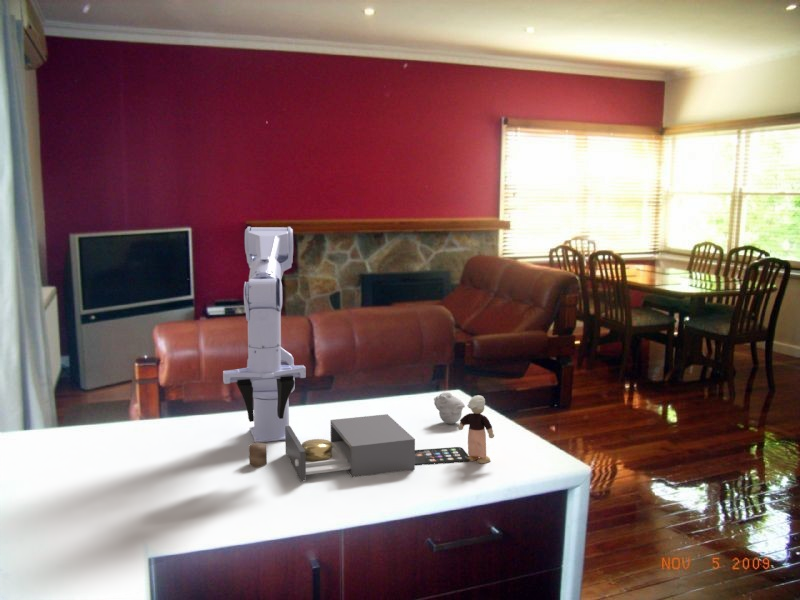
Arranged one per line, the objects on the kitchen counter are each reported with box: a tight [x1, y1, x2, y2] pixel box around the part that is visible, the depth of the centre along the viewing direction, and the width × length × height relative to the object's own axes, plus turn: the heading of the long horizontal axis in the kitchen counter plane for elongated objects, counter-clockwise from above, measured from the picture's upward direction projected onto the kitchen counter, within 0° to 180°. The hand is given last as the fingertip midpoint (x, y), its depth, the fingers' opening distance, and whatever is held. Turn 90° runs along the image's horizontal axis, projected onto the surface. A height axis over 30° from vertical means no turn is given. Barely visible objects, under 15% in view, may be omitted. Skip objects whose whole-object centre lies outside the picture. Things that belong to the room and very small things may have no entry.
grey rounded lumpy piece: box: [433, 391, 466, 425], centre depth 154 cm, size 6×7×7 cm
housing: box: [330, 413, 416, 478], centre depth 133 cm, size 16×12×6 cm
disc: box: [301, 438, 332, 462], centre depth 129 cm, size 6×6×2 cm
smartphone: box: [415, 446, 471, 466], centre depth 134 cm, size 7×1×15 cm
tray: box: [284, 425, 351, 482], centre depth 130 cm, size 15×12×5 cm
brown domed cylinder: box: [248, 442, 268, 468], centre depth 130 cm, size 3×3×4 cm
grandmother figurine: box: [457, 394, 495, 464], centre depth 132 cm, size 8×4×13 cm, turn 65°
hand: (265, 418), depth 125 cm, fingers open, 5 cm apart
